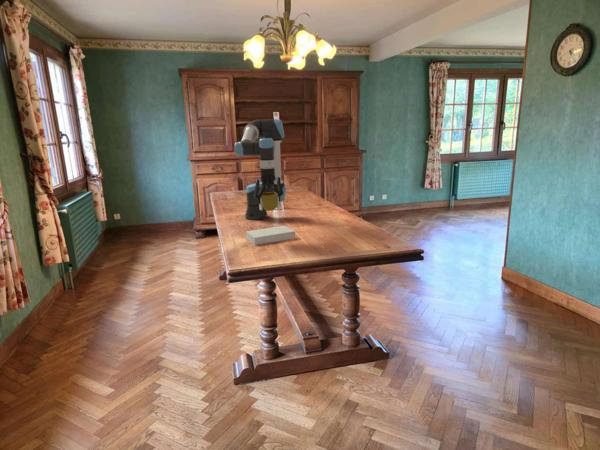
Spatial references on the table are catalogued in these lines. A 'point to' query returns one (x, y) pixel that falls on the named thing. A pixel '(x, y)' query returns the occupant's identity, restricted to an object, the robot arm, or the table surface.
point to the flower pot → (269, 200)
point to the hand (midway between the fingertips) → (269, 208)
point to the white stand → (270, 235)
